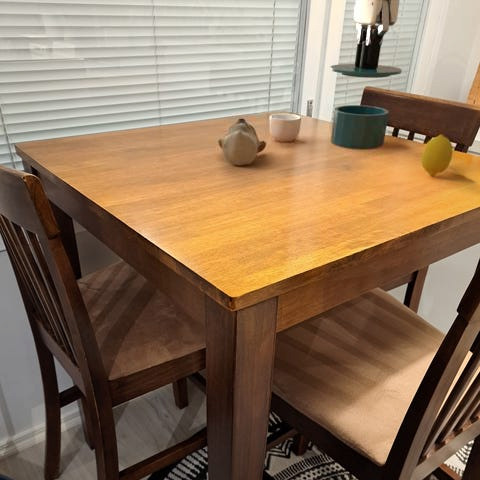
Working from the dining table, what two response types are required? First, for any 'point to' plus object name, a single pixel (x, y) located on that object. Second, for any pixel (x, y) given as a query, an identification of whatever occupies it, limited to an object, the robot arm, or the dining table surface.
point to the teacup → (284, 126)
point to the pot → (359, 126)
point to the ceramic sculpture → (241, 143)
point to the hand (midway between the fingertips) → (365, 67)
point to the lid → (366, 73)
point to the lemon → (437, 155)
